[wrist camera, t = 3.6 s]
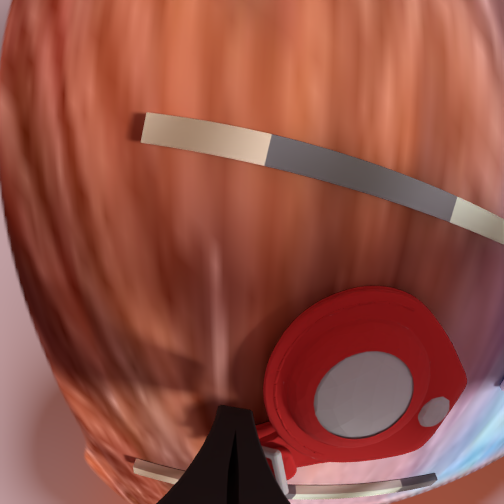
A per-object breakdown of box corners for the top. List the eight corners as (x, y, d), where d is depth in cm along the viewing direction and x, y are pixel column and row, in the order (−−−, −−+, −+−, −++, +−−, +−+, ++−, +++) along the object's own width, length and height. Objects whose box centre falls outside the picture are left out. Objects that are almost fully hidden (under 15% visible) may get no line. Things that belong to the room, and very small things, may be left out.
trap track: (571, 260, 10) (579, 265, 10) (428, 478, 17) (431, 485, 17) (154, 114, 9) (146, 112, 8) (136, 464, 16) (134, 473, 15)
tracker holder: (311, 247, 10) (516, 348, 8) (307, 246, 14) (470, 324, 13) (187, 487, 11) (366, 537, 9) (211, 439, 15) (358, 489, 14)
